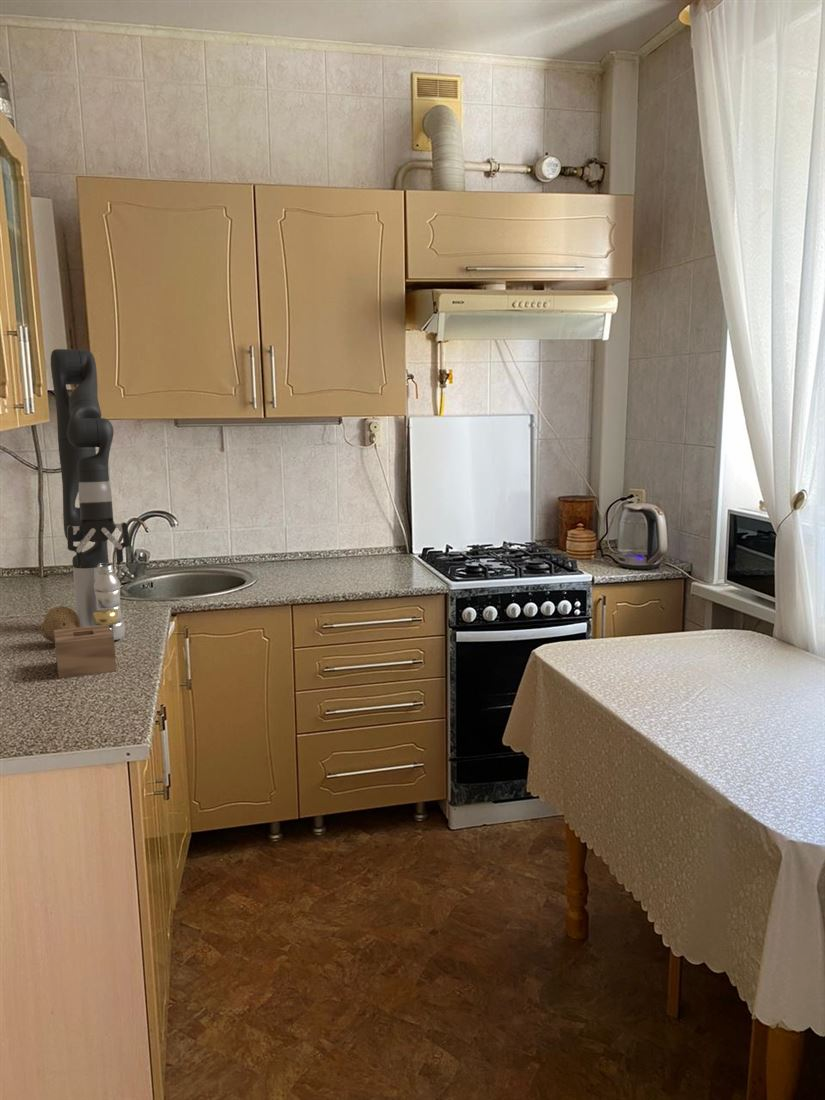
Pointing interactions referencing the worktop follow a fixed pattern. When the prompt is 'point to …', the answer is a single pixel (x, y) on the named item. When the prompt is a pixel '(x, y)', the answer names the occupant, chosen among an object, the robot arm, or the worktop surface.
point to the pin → (106, 618)
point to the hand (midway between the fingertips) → (100, 566)
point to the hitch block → (84, 651)
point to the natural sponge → (58, 621)
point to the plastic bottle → (109, 595)
